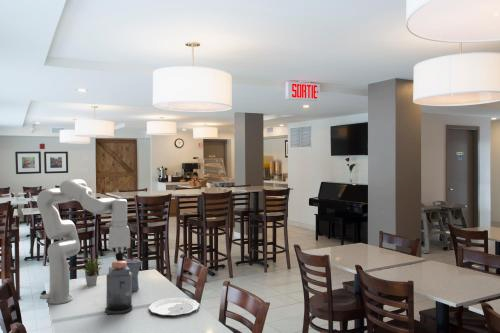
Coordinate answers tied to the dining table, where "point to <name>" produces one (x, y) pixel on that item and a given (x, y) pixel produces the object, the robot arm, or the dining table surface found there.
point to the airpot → (119, 291)
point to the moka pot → (133, 271)
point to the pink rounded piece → (119, 264)
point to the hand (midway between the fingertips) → (119, 260)
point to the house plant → (91, 272)
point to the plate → (171, 305)
